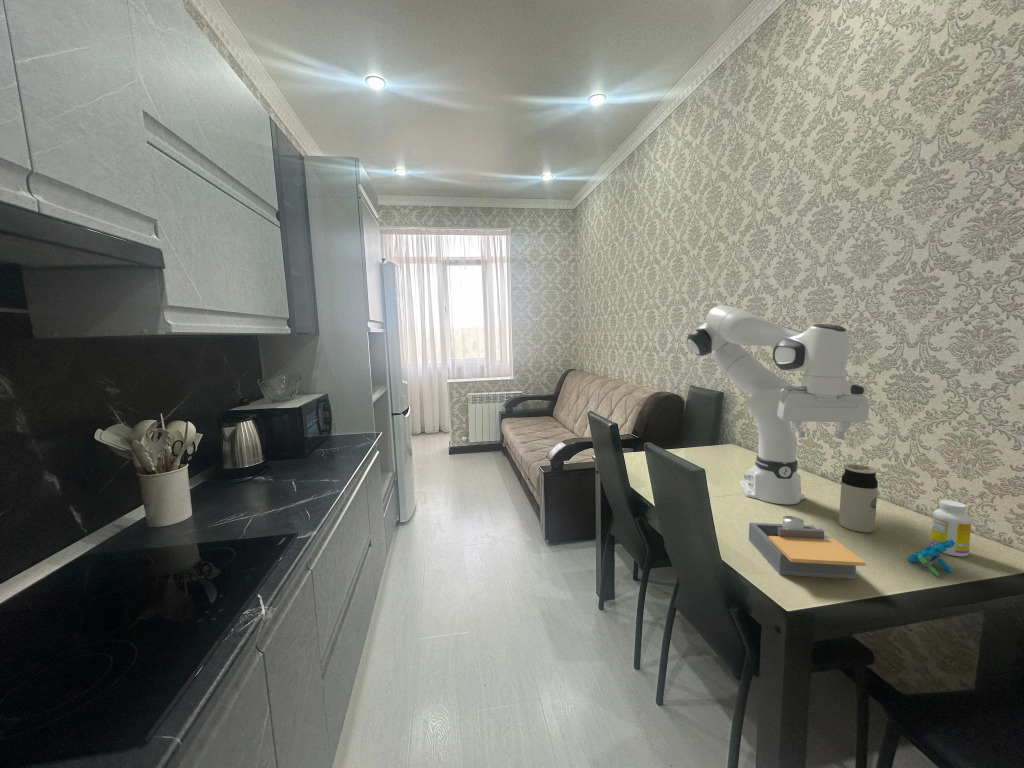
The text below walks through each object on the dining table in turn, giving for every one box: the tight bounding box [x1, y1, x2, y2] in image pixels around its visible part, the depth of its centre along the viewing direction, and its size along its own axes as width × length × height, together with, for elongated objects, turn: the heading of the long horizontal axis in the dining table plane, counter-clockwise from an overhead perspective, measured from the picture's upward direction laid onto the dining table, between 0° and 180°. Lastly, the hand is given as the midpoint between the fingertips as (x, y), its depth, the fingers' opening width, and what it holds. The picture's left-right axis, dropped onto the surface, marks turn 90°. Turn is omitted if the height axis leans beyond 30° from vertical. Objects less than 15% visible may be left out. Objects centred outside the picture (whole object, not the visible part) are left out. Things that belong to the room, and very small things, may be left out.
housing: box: [748, 522, 857, 580], centre depth 101 cm, size 17×16×5 cm
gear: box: [906, 540, 955, 577], centre depth 95 cm, size 11×6×10 cm
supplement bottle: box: [930, 499, 972, 557], centre depth 103 cm, size 7×7×13 cm
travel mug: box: [838, 463, 879, 534], centre depth 116 cm, size 8×8×18 cm
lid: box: [768, 527, 867, 567], centre depth 95 cm, size 12×15×3 cm
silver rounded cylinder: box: [782, 515, 805, 528], centre depth 104 cm, size 6×6×8 cm
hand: (819, 437), depth 106 cm, fingers open, 8 cm apart
